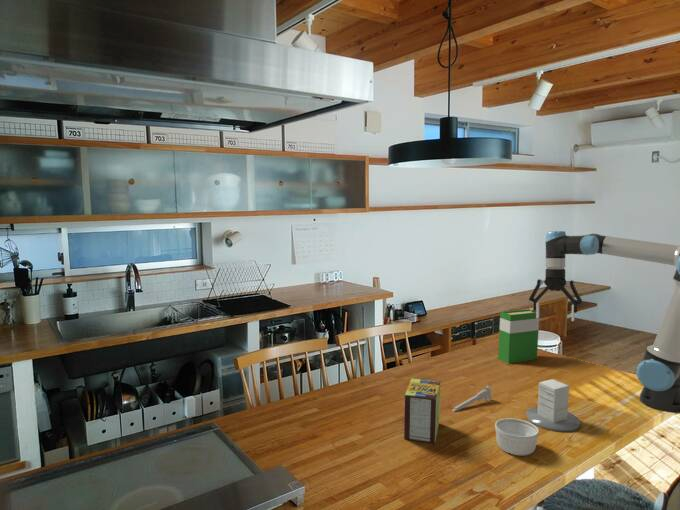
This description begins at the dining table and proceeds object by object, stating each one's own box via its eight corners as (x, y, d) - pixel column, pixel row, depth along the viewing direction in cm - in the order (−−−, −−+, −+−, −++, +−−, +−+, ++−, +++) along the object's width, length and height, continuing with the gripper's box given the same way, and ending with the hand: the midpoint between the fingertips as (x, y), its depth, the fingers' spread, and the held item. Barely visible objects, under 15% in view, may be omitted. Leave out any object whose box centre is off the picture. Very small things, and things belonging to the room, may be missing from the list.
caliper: (488, 399, 194) (488, 384, 193) (490, 400, 193) (491, 385, 192) (451, 411, 183) (452, 395, 182) (454, 412, 182) (454, 396, 181)
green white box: (526, 355, 249) (528, 309, 246) (536, 359, 242) (539, 312, 240) (498, 358, 243) (500, 311, 240) (508, 363, 236) (510, 315, 233)
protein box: (439, 423, 173) (440, 381, 171) (435, 444, 158) (436, 398, 157) (410, 419, 176) (411, 377, 174) (403, 439, 161) (404, 394, 159)
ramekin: (503, 433, 166) (504, 414, 165) (543, 446, 158) (544, 425, 157) (487, 448, 156) (488, 428, 155) (529, 463, 147) (530, 441, 147)
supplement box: (550, 411, 181) (552, 378, 179) (567, 419, 174) (569, 385, 173) (536, 415, 178) (538, 381, 176) (553, 423, 171) (555, 389, 170)
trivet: (585, 418, 178) (585, 415, 178) (573, 437, 164) (573, 434, 163) (534, 405, 189) (534, 402, 188) (519, 421, 174) (519, 419, 174)
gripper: (590, 268, 198) (589, 320, 199) (525, 266, 212) (525, 315, 213) (587, 269, 192) (587, 323, 193) (521, 268, 205) (521, 318, 206)
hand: (555, 319), depth 203 cm, fingers open, 13 cm apart
